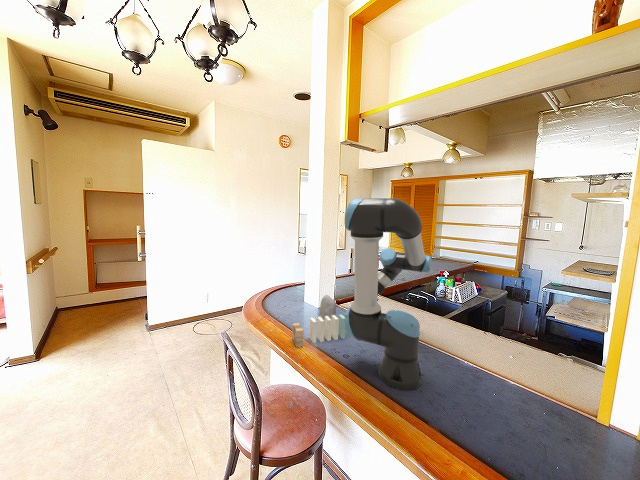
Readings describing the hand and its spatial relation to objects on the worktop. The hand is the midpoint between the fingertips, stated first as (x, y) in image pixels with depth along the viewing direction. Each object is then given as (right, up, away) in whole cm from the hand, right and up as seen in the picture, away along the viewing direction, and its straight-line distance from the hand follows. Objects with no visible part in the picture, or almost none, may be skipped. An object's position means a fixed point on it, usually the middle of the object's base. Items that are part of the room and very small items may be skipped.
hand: (348, 319), depth 129 cm
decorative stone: (-10, -7, +13) cm, 18 cm away
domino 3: (-10, -8, -3) cm, 13 cm away
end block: (-24, -8, -7) cm, 26 cm away
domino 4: (-7, -8, -2) cm, 11 cm away
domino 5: (-3, -8, 0) cm, 9 cm away
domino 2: (-13, -8, -4) cm, 16 cm away
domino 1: (-17, -8, -5) cm, 19 cm away
